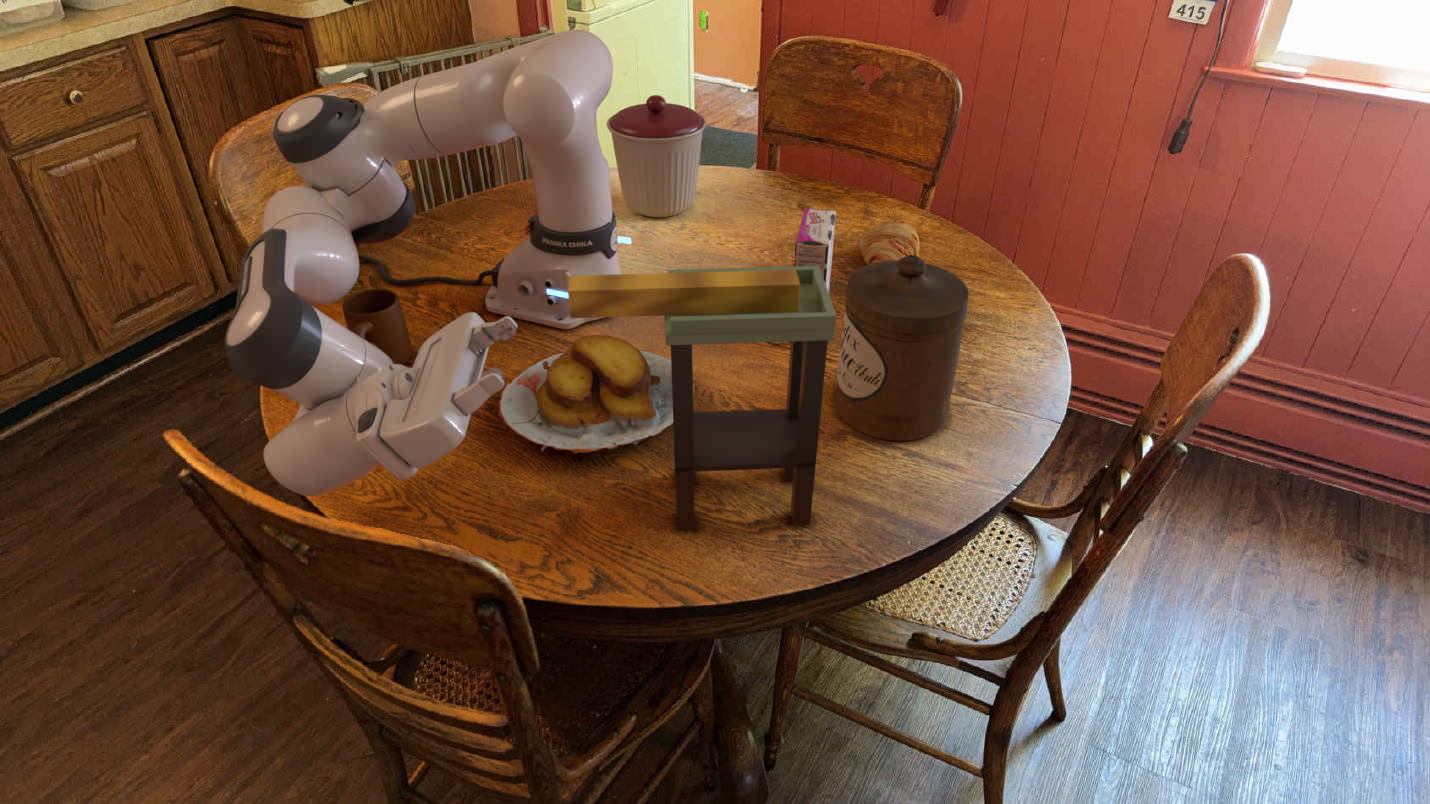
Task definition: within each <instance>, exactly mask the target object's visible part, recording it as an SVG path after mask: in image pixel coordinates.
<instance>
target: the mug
mask: <svg viewBox="0 0 1430 804" xmlns="http://www.w3.org/2000/svg"><path fill="white" fill-rule="evenodd" d="M342 310H343V311H342V312H343V316H344V320H345V324H346V328H347V329H348V330H350V331H351V332H353V333H354V334H356V335H358V336H360V337H361V338H363V339H365V340H366V341H368V342H369V343H371V344H372V345H374V346H375V347H377V348H378V349H380V350H381V351H382V352H384V353H385V354H386V355H387V356H389V357H390V358H391V359H392V360H393V362H394V364H400V365H403V366H404V365H405V364H406V363H407V362H408V361H409V360H410V359H411V357H412V355H413V346H412V342H411V338H410V334H409V329H408V325H407V321H406V317H405V313H404V309H403V305H402V303H401V300H400V297H399V295H398V294H397V293H396V292H395V291H393V290H391V289H387V288H370V289H366V290H361V291H358V292H356V293H354V294H351V295H350V296H348V297H347V298H346V299H345V300H344V302H343V303H342Z"/></svg>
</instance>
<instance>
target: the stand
mask: <svg viewBox="0 0 1430 804" xmlns="http://www.w3.org/2000/svg"><path fill="white" fill-rule="evenodd" d="M765 270H796V272H797V276H798V279H799V282H800V293H799V307H798V311H794V312H760V313H727V314H693V315H664V337H665V339H664V340H665V346H670V360H671V371H672V401H673V423H672V427H673V430H672V431H673V455H674V456H673V457H674V458H673V459H674V461H673V462H674V485H675V511H676V512H675V513H676V530H677V531H690V530H695V529H696V516H695V515H696V513H695V512H696V508H695V506H696V505H695V503H696V501H695V473H696V472H718V471H719V472H720V471H749V470H770V469H771V470H773V469H781V472H782V477H783V480H784V482H792V484H791V485H792V486H791V487H792V488H791V500H790V512H789V514H790V519H791V524H792V526H803V525H804V526H807V525H810V524H811V519H812V509H813V498H814V488H815V478H816V467H817V458H818V457H817V456H818V446H819V435H820V426H821V417H822V416H821V414H822V406H823V395H824V385H825V376H826V364H827V354H828V343H829V341H834V340H835V335H836V334H835V333H836V325H837V314H836V311H835V308H834V305H833V302H832V299H831V296H830V292H829V293H828V290H827V287H826V284H825V281H824V278H823V275H822V273H821V270H820V267H819V266H796V267H794V266H765V267H764V266H763V267H728V268H727V267H726V268H691V269H690V268H689V269H668V270H667V273H692V272H728V271H765ZM782 342H783V343H785V342H790V345H789V361H788V362H789V363H788V374H787V378H788V379H787V392H786V407H785V408H773V409H770V408H769V409H747V410H745V409H744V410H743V409H742V410H720V411H718V410H717V411H714V410H713V411H694V401H693V384H694V381H693V377H694V376H693V375H694V374H693V370H694V369H693V346H694V345H718V344H719V345H720V344H721V345H724V344H753V343H754V344H755V343H756V344H757V343H782Z"/></svg>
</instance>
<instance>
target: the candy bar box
mask: <svg viewBox="0 0 1430 804" xmlns="http://www.w3.org/2000/svg"><path fill="white" fill-rule="evenodd" d="M836 218H837V211H836V210H830V209H821V208H820V209H819V208H817V209H815V208H804V209H803V214H802V217H801V221H800V225H799V228H798V231H797V234H796V238H795V241H794V259H793V260H794V262H793V267H796V266H819V267H820V270H821V273H822V275H823V278H824V281H825V284H826V287H827V290H828V293H829V294H830V287H831V275H832V265H833V254H834V253H833V252H834V241H835V228H836Z"/></svg>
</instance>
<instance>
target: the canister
mask: <svg viewBox="0 0 1430 804" xmlns="http://www.w3.org/2000/svg"><path fill="white" fill-rule="evenodd" d="M606 127H607V130H608V131H609V132H610V133H611V138H612V145H613V150H614V155H615V157H614V158H615V162H616V167H617V172H618V178H619V183H620V188H621V192H622V193H621V194H622V196H623V200H624V202H625V205H626V206H627V207H628V208H629V209H630V210H631V211H633V212H634V213H636V214H638V215H641V216H644V217H650V218H667V217H673V216H676V215H677V216H678V215H679V214H682V213H685V212H686V211H688V209H690V207H691V206H692V205H693V203H694V201H695V198H696V192H697V186H698V178H699V171H700V170H699V169H700V159H701V151H702V141H703V131H704V130H705V129H706V127H707V120H706V118H705V116H703V115H702V114H701V113H699V112H697V111H696V110H695V109H693V108H691V107H688V106H684V105H681V104H676V103H669V102H668V103H667V101H666V100H665V97H663V96H662V95H659V94H654V95H650V96H649V97H648V98H647V99H646V101H645V103H640V104H634V105H631V106H627V107H625V108H623V109H620V110H619V111H618V112H616V113H614V114H613V115H611V116H610V117H609V118H608V119H607V121H606Z"/></svg>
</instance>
